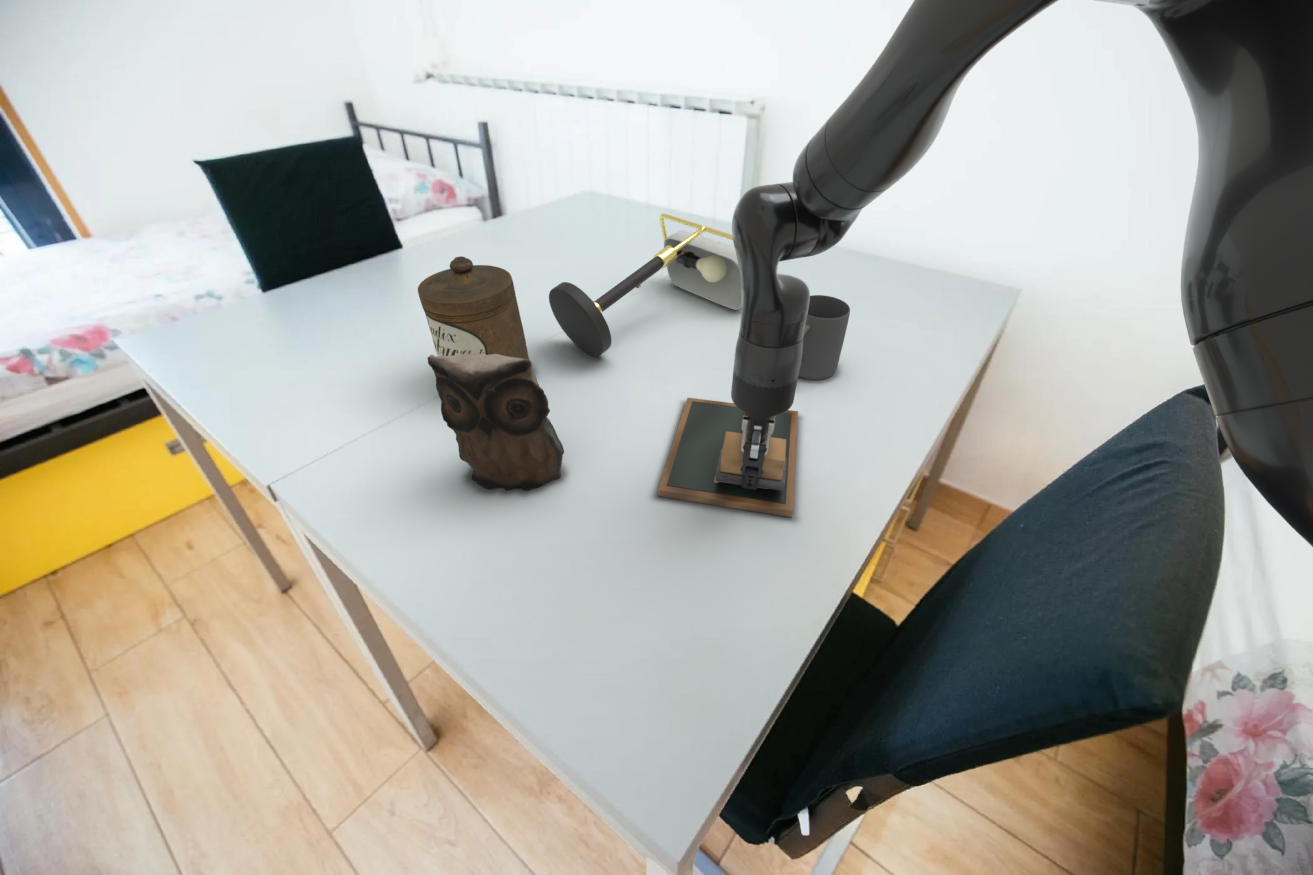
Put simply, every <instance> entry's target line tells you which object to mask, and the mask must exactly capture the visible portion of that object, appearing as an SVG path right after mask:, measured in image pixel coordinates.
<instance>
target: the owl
mask: <svg viewBox="0 0 1313 875" xmlns="http://www.w3.org/2000/svg"><path fill="white" fill-rule="evenodd" d="M427 364H428V365H429V367H431V369H432V371H433V373H434V376H435V387H436V391H437V394H438V398H439V399H440V402H441V403H440V412H441V416H442V420H443V421H444V422H445V423H446V426H447V427H448V428H449V429H451V430H452V431H453V432H454V434H455V440H456V443H457V447H458V454H459V455H458V456H459V458H460V459H461V461H463V462H465V463H467V464H468V465H469V466H470V468H471V469H472V470H473V472H472V473H471V480H472V481H474V482H475V483H476V484H477V485H479V486H481V487H482V488H483V489H486V490H488V491H492V490H495V489H501V488H503V489H504V491H505V492H506V491H512V490H515V489H517V490H520V489H522V490H523V491H524V492H528V491H530V490H533V489H538V488H540V487H542V486H543V485H545V484H547V483H549V482H552V481H554V480H558V479H560V478H561V477H562V471H561V468H562V464H563V456H564V454H565V449H564V446H563V443H562V441H561V439H560V438H559V436H558V434H557V431H556V429H555V427H554V425H553V423H552V422H551V420H550V419H549V418H548V415H549V413H550V412H551V409H550V408H549V400H548V398H547V395H546V394H545V390H544V389H543V388H542V387H541V385H540V384H539V383H538V380H537V376H536V374H534V373H533V371H532V361H531V360H530V359H529V360H528V359H522V358H515V357H507V356H503V355H499V354H492V355H484V354H477V353H476V354H460V355H454V356H436V355H433V354H430V355H429V356H427ZM530 369H531V370H530Z"/></svg>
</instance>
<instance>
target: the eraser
mask: <svg viewBox="0 0 1313 875" xmlns="http://www.w3.org/2000/svg"><path fill="white" fill-rule="evenodd" d="M742 436H743V434H742V433H735V432H727V431H726V434H725V439H724V444H723V449H721V451H720V456H719V461H718V466H717V470H716V479H715V481H720V482H727V483H734V484H740V485H741V481H742V474H741V472H742V471H741V467H742V466H741V465H742V462H743V455H744V453H743V452H742V451H741V443H742ZM747 436H748V434H747ZM746 442H750V441H748V438H746ZM765 442H766V438H765V441H764V443H760V444H765ZM750 443H751V444H752V442H750ZM760 444H759V445H760ZM785 451H786V439H780V438H772V437H771V438H770V445H769V452H768V454H767V455H765V456H764V461H763V469H762V470H763V474H761V477H759V484H758V487H760V488H767V489H774V490H780V491H783V490H784V485H785V473H786V458H785Z"/></svg>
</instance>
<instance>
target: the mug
mask: <svg viewBox="0 0 1313 875" xmlns="http://www.w3.org/2000/svg"><path fill="white" fill-rule="evenodd" d="M850 314H851V307H850V305H849V304H848V303H847V302H845V301H844V300H842V299H839V298H838V297H834V296H830V295H824V294H822V295H821V294H813V295H810V303H809V309H808V315H807V320H806V326H805V331H804V336H803V353H802V359H801V365H800V370H799V375H798V378H802V379H806V380H813V381H814V380H817V381H819V380H825V379H828V378H830V377H832V376H833V375H834V374H835V373H836V371H837V368H838V365H839V361H840V358H841V354H842V349H843V346H844V342H845V338H846V333H847V329H848V324H849V319H850Z"/></svg>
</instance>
